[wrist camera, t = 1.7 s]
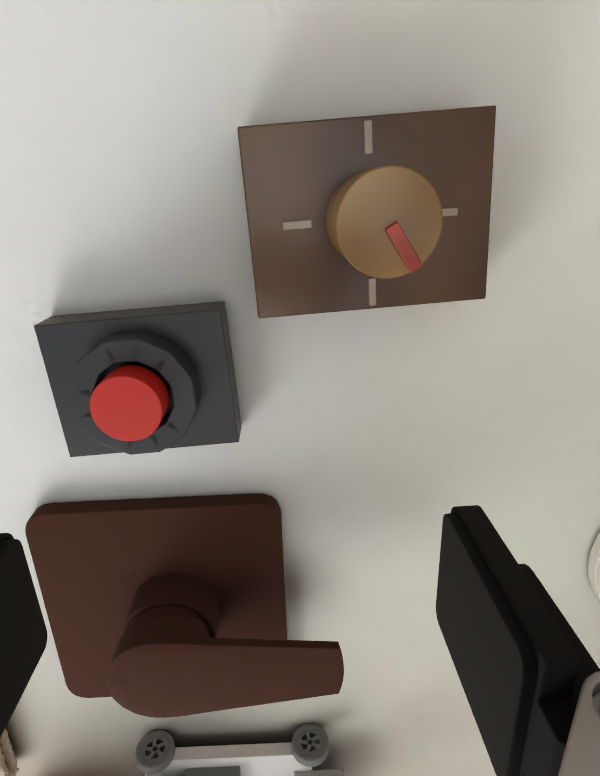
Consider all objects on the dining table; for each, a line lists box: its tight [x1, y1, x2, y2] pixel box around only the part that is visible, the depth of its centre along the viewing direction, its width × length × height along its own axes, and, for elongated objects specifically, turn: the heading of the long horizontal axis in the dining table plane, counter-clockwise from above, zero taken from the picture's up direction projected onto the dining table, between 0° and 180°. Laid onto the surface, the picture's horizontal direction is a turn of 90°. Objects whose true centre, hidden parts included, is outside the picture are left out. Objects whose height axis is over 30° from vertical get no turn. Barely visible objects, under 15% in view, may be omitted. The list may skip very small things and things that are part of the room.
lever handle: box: [26, 494, 344, 718], centre depth 33 cm, size 16×7×20 cm
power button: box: [90, 365, 169, 441], centre depth 26 cm, size 4×4×2 cm
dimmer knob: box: [326, 165, 443, 279], centre depth 23 cm, size 4×4×5 cm
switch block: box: [34, 301, 241, 457], centre depth 29 cm, size 10×8×4 cm
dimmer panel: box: [238, 105, 496, 318], centre depth 26 cm, size 12×9×3 cm
